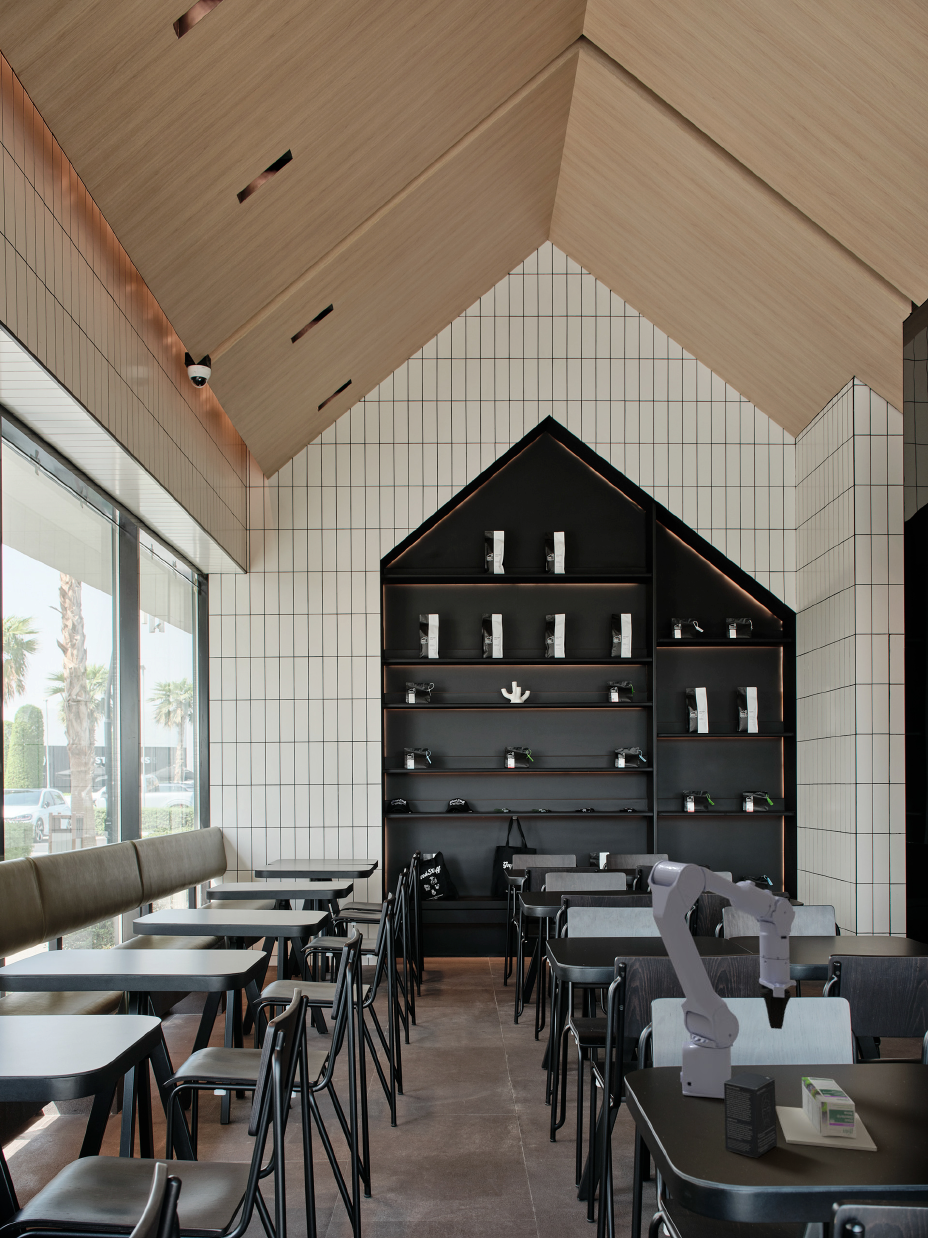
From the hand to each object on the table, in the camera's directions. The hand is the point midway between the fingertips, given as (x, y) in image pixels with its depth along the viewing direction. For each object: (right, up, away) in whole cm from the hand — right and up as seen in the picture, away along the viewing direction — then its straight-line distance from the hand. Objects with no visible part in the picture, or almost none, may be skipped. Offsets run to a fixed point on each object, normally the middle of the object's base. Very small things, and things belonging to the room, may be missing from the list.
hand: (776, 1028), depth 202 cm
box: (-16, -4, -38) cm, 41 cm away
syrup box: (+2, -4, -19) cm, 20 cm away
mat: (0, -6, -28) cm, 28 cm away
